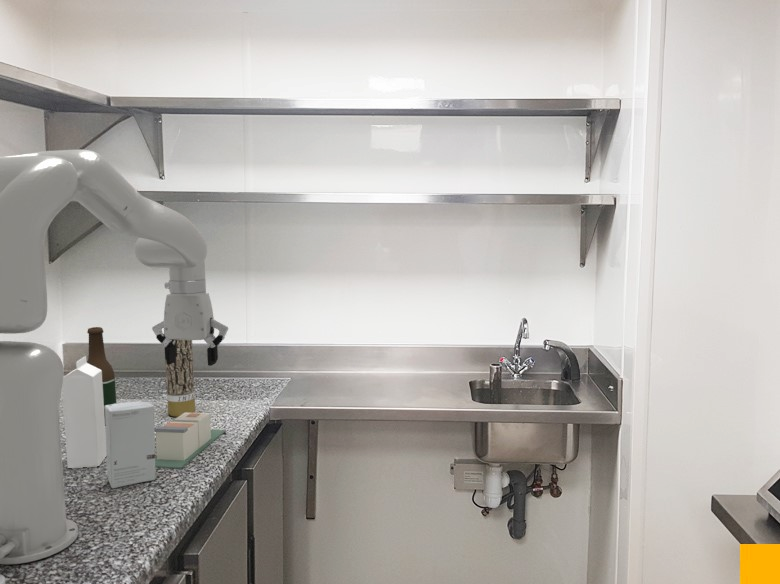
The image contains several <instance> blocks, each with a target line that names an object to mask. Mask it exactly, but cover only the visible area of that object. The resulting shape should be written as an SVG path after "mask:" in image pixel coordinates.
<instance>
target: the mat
mask: <svg viewBox="0 0 780 584" xmlns="http://www.w3.org/2000/svg"><path fill="white" fill-rule="evenodd" d="M225 431H226V429H211V439H210V440H209V441H208V442H206V443H205V444H204V445H203V446H201V447H200V448H199V449H198V450H197V451H195V452H194V453H193V454H192V455H190V456H189V457H188V458H187V459H185V460H184V461H182V460H160V459H157V455H155V467H162V468H161V469H177V470H179V469H180V470H181V469H183V468H184V467H185V466H186V465H187V464H189V463H190V462H191V461H192V460H193V459H195V458H196V457H197V456H198V455H200V453H202V452H203V451H204V450H206V449H207V448H208V447H209V446H210V445H212V443H214V442H215V441H216V440H218V438H220V437H221V436H222V435H223V434H224V433H226V432H225ZM220 435H221V436H220ZM219 436H220V437H219ZM213 441H214V442H213ZM208 445H209V446H208ZM207 446H208V447H207ZM201 451H202V452H201ZM195 456H196V457H195ZM190 460H191V461H190ZM189 461H190V462H189ZM183 466H184V467H183Z"/></svg>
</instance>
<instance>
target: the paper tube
mask: <svg viewBox="0 0 780 584" xmlns="http://www.w3.org/2000/svg"><path fill="white" fill-rule="evenodd" d="M173 345H175V350H176V362H174V363H172V364H170V365H167V363H166V360H164V361H165V380H166V381H165V383H166V400H167V403H166V404H167V413H168V415H169V416H171V417H175V418H177V417H179V416H180V415H182V414H183V413H185V412H188V413H196V412H195V411H196V399H195V398H196V396H195V395H196V394H195V392H196V391H195V375H194V373H195V372H194V350H193V340H175V341H174V342H173Z"/></svg>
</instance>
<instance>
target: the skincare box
mask: <svg viewBox="0 0 780 584" xmlns="http://www.w3.org/2000/svg"><path fill="white" fill-rule="evenodd" d="M105 424H106V426H105V433H106V454H107V457H106V477H107V481H108V483H109V486H110V489H117V488H120V487H126V486H131V485H136V484H139V483H145V482H151V481H155V480H156V479H157V478H156V468H155V457H156V449H155V448H156V446H155V445H156V432H154V428H155V406H154V405H153V404H152V403H151V401H149V400H140V401H126V402H120V403H116V404H111V405H105Z"/></svg>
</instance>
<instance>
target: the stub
mask: <svg viewBox="0 0 780 584" xmlns="http://www.w3.org/2000/svg"><path fill="white" fill-rule="evenodd" d="M172 421H196V422H198V440H199V448H200V447H201V446H203V445H204V444H205V443H206V442H208V441H209V440H210V439H211V414H210V412H208V413H207V412H194V413H188V412H185V413H183V414H182V415H180V416H179V417H175V418H174V419H172Z"/></svg>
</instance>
